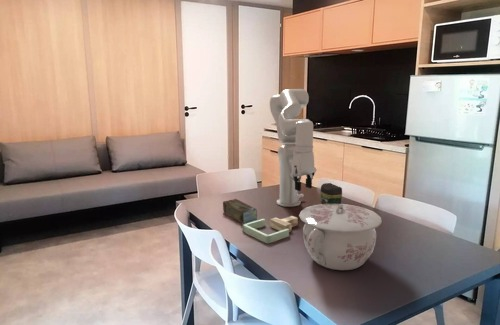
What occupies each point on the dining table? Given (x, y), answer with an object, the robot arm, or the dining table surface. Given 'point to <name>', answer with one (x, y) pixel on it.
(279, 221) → the t block
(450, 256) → the dining table surface
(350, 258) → the chamber pot
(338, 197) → the coffee jar
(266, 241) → the dock
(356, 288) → the dining table surface
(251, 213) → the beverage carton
